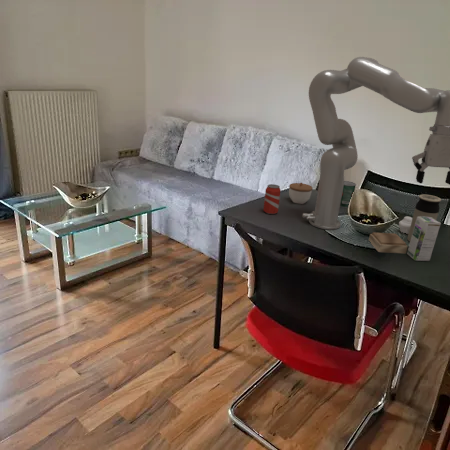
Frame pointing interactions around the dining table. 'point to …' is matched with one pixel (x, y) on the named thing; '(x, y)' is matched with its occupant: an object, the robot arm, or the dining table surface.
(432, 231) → the syrup box
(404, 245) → the base
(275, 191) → the beverage can
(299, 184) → the lidded jar
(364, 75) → the robot arm
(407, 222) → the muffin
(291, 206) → the dining table surface
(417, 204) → the travel mug
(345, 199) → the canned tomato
